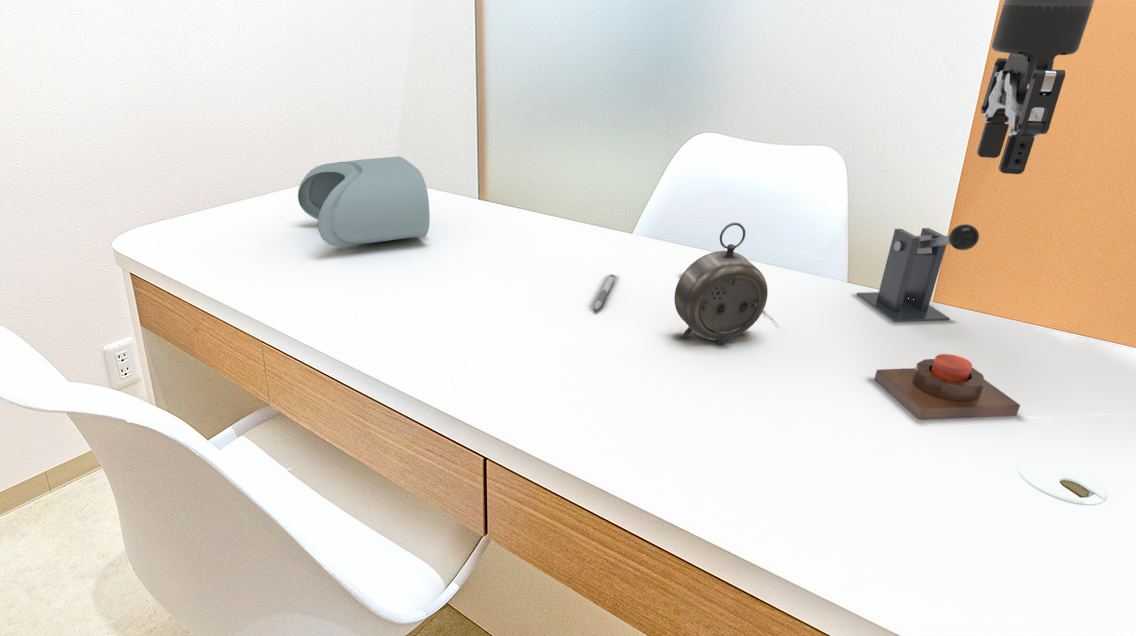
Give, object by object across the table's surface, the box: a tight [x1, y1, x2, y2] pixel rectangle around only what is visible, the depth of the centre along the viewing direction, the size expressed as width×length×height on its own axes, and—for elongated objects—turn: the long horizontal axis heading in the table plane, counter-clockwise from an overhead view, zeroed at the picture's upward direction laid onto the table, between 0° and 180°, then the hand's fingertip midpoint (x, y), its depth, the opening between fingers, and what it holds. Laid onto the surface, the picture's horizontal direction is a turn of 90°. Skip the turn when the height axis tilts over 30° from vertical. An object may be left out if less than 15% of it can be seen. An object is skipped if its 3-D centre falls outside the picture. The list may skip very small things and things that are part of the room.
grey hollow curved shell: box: [297, 156, 431, 248], centre depth 134 cm, size 22×19×13 cm
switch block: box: [873, 358, 1021, 421], centre depth 83 cm, size 11×9×4 cm
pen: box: [593, 274, 615, 311], centre depth 112 cm, size 1×14×1 cm, turn 163°
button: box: [931, 353, 973, 382], centre depth 82 cm, size 4×4×2 cm
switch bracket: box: [856, 227, 951, 323], centre depth 105 cm, size 10×8×12 cm
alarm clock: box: [674, 222, 768, 347], centre depth 94 cm, size 11×5×16 cm, turn 100°
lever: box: [915, 223, 980, 255], centre depth 98 cm, size 12×3×3 cm, turn 5°
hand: (998, 164), depth 83 cm, fingers open, 8 cm apart
